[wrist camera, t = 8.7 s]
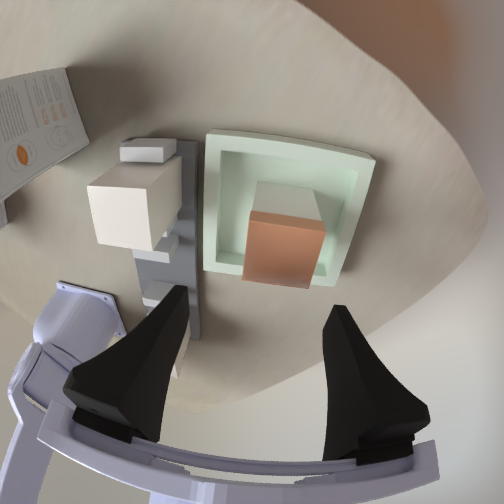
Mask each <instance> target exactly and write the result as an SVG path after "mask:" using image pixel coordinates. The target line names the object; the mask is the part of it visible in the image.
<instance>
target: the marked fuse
mask: <svg viewBox="0 0 504 504" xmlns="http://www.w3.org/2000/svg"><path fill="white" fill-rule="evenodd" d="M325 234H326V230H325V226H324V223H323V221H322V220H321V216H320V213H319V209H318V206H317V203H316V199H315V196H314V192H313V189H307V188H301V187H295V186H289V185H282V184H276V183H269V182H261V181H257V185H256V191H255V196H254V201H253V206H252V210H251V212H250V217H249V222H248V231H247V239H246V248H245V257H244V265H243V274H242V280H244V281H251V282H258V283H266V284H273V285H281V286H289V287H297V288H305V289H309V286H310V283H311V280H312V276H313V273H314V270H315V267H316V264H317V261H318V258H319V254H320V251H321V248H322V244H323V241H324V238H325Z"/></svg>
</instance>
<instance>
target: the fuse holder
mask: <svg viewBox="0 0 504 504" xmlns="http://www.w3.org/2000/svg"><path fill="white" fill-rule="evenodd" d="M198 144H199V141H183V140H177V139H165V138H136V139H134V140H125V141H123V142H121V147H119V149H120V161H128V162H160V163H163V162H165V161H166V160H167V159H168V158H170V157H171V156H182V207H181V208H180V210H179V211H178V213H177V214H176V216H175V217H174V219H173V220H172V222H171V223H170V225H169V226H168V228H167V230H166V231H165V233H164V234H163V236H162V237H161V239H160V241H159V242H158V244H157V245H156V247H155V248H154V250H153V252H152V251H145V250H138V249H132V253H133V258H135V262H136V267H137V272H138V277H139V281H140V286H141V290H142V295H143V297H142V299H143V304H144V305H145V307H146V311H147V315H148V314H149V313H150V312H151V311H152V310H153V309H154V308H155V307H156V306H157V305H158V304H159V303H160V301H161V300H162V299H163V298H164V297H165V296H166V295H167V293H168V292H169V291H170V290H171V289H172V287H173V286H174V285H176V284H177V285H183V286H188V298H189V309H190V316H189V323H190V332H191V335H190V338H189V339H194V340H199V341H200V337H201V329H200V311H199V289H198V257H197V175H198Z"/></svg>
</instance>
